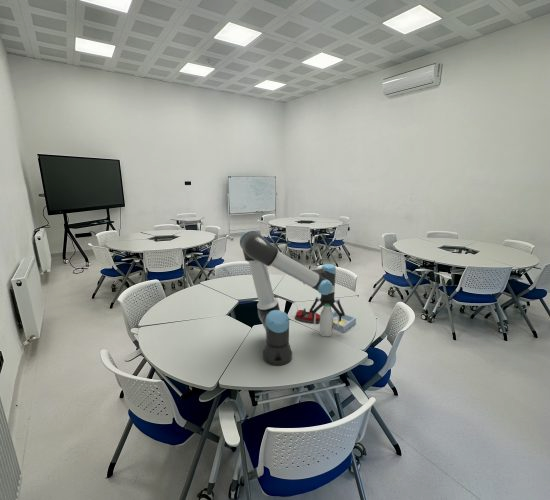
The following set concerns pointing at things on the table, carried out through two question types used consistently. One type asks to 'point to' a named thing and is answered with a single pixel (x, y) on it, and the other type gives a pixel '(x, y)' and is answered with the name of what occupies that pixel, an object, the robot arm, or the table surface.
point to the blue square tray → (343, 322)
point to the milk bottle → (326, 321)
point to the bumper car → (306, 316)
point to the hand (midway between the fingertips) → (326, 324)
